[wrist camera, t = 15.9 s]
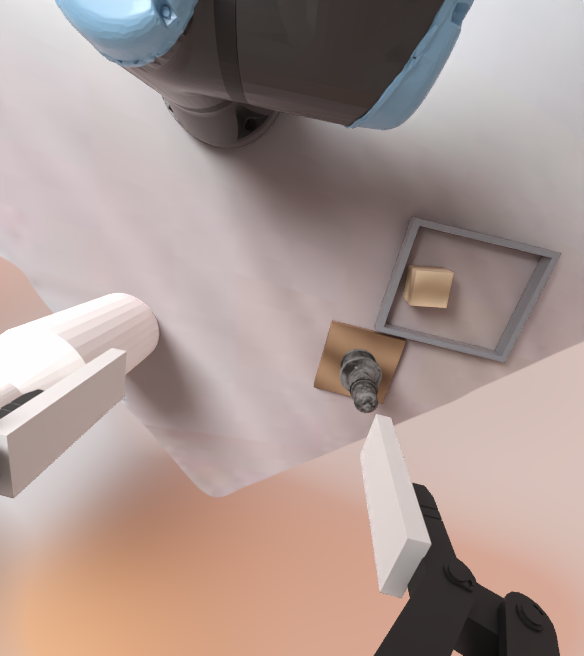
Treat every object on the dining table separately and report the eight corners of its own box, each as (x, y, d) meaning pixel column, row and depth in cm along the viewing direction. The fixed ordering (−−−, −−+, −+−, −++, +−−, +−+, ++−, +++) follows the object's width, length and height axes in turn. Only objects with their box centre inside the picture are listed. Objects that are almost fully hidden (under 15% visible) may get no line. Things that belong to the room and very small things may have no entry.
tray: (411, 217, 42) (415, 217, 40) (551, 251, 42) (561, 253, 40) (374, 326, 47) (376, 330, 46) (497, 356, 47) (504, 362, 45)
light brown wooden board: (332, 320, 48) (332, 323, 47) (404, 338, 48) (406, 341, 47) (314, 383, 52) (313, 387, 50) (380, 400, 51) (381, 404, 50)
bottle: (76, 328, 52) (-124, 421, 29) (113, 275, 49) (-83, 333, 25) (136, 374, 54) (-7, 497, 31) (175, 327, 51) (46, 425, 27)
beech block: (407, 265, 44) (416, 270, 40) (441, 267, 44) (454, 272, 40) (402, 296, 46) (410, 305, 42) (435, 299, 45) (446, 307, 41)
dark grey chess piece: (375, 383, 49) (390, 434, 38) (337, 380, 50) (340, 429, 38) (380, 348, 47) (397, 390, 36) (340, 345, 48) (344, 386, 36)
